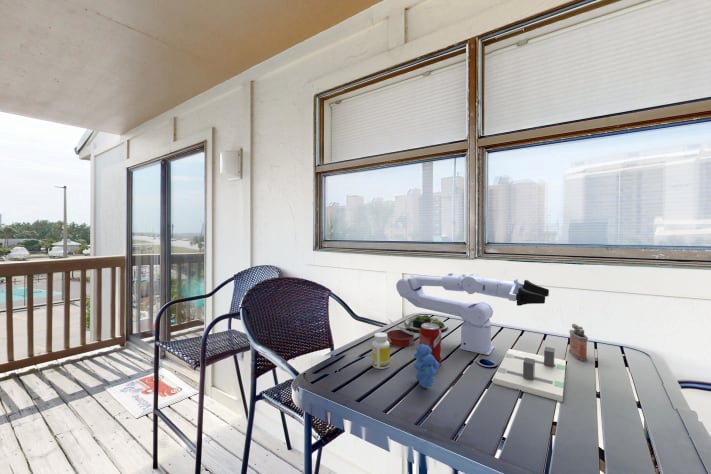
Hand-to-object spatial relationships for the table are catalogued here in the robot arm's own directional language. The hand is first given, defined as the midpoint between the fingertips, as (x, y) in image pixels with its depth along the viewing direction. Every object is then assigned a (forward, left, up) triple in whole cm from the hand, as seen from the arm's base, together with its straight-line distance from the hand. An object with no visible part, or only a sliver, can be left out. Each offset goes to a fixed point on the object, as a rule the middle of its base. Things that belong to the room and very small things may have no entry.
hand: (546, 296), depth 97 cm
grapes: (-25, -33, -22) cm, 47 cm away
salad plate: (-45, +13, -22) cm, 52 cm away
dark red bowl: (-46, -8, -22) cm, 51 cm away
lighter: (+8, +13, -22) cm, 27 cm away
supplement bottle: (-42, -29, -22) cm, 55 cm away
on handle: (+1, -3, -20) cm, 20 cm away
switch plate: (-3, -9, -21) cm, 23 cm away
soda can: (-30, -19, -22) cm, 41 cm away
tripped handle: (-3, -15, -20) cm, 25 cm away
